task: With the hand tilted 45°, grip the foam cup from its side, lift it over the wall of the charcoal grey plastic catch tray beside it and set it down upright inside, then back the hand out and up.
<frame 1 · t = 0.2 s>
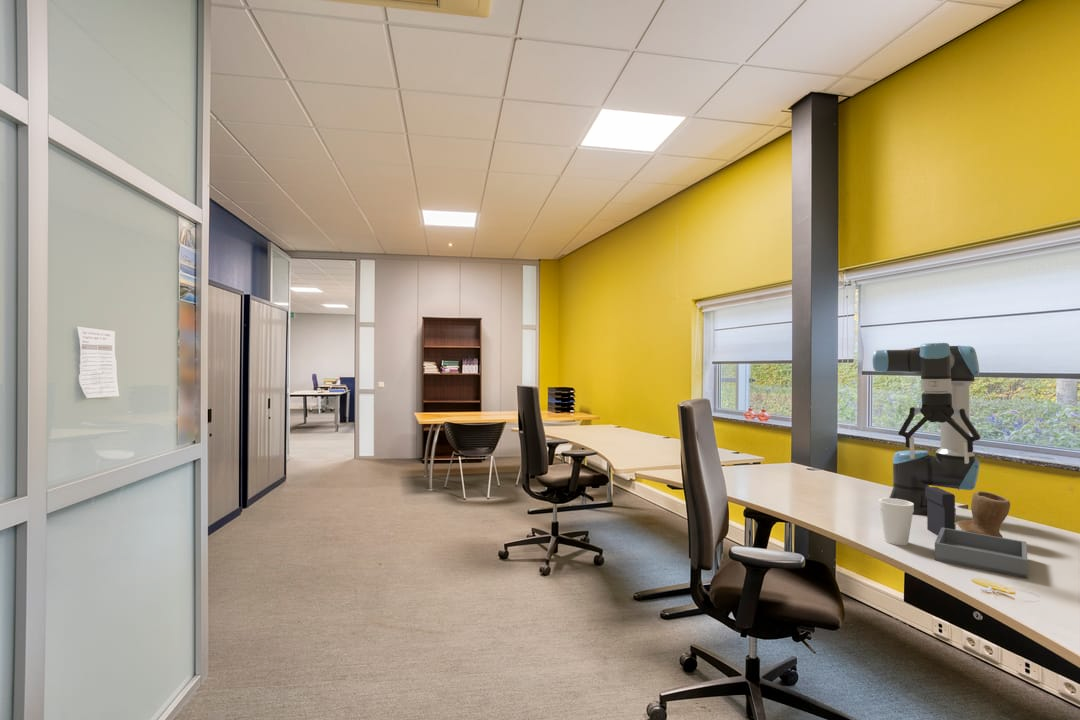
hand: (938, 460, 163), 28 cm above the table, tool pointing down, fingers open, 13 cm apart
brown flared vessel: (984, 537, 174), on the table
foam cup: (896, 542, 169), on the table
catch tray: (980, 559, 154), on the table
dark blue upright block: (940, 535, 176), on the table
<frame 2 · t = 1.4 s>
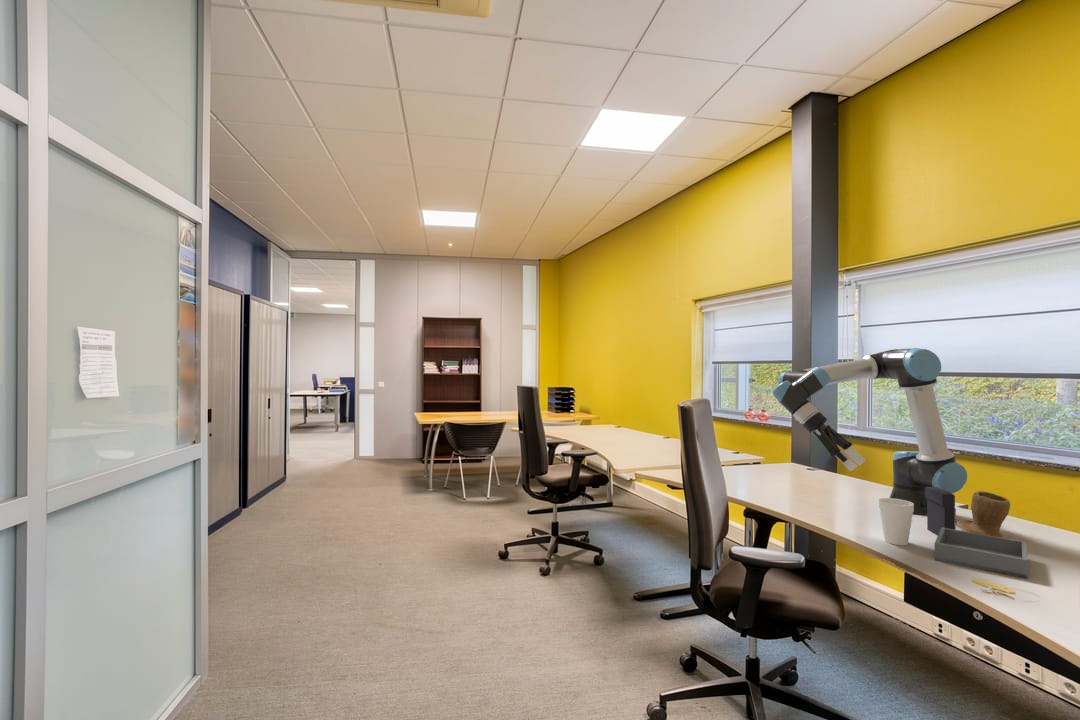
hand: (858, 466, 176), 23 cm above the table, tool tilted 45°, fingers open, 13 cm apart
nothing on the table moved.
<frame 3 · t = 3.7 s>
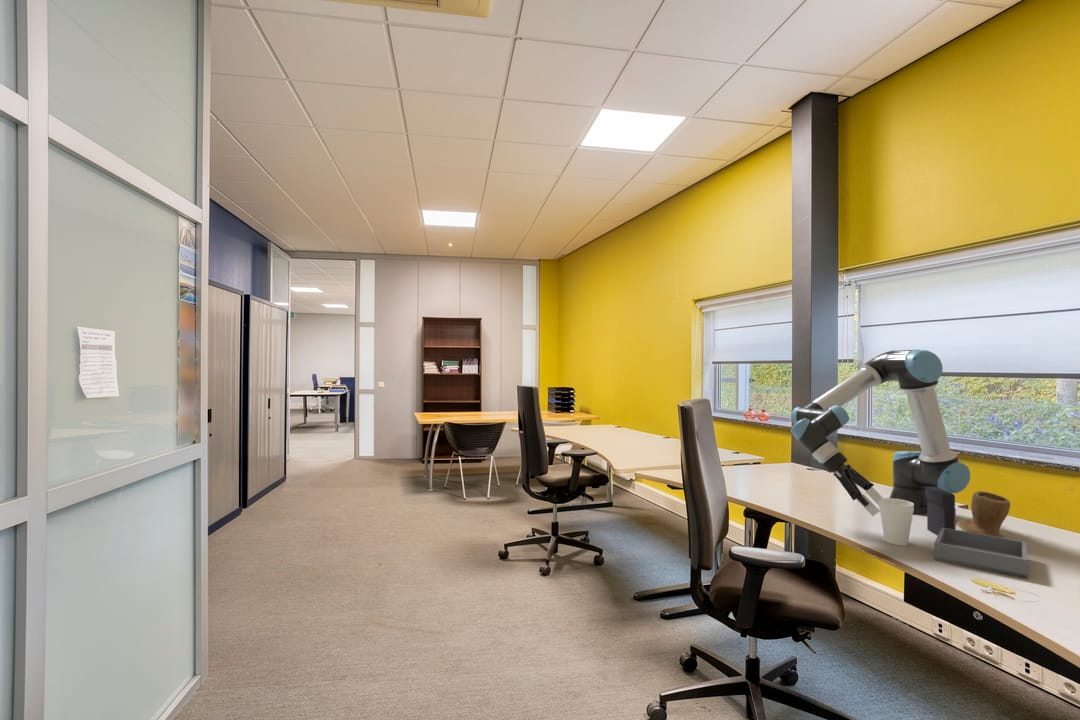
hand: (880, 509, 171), 10 cm above the table, tool tilted 45°, fingers open, 13 cm apart
nothing on the table moved.
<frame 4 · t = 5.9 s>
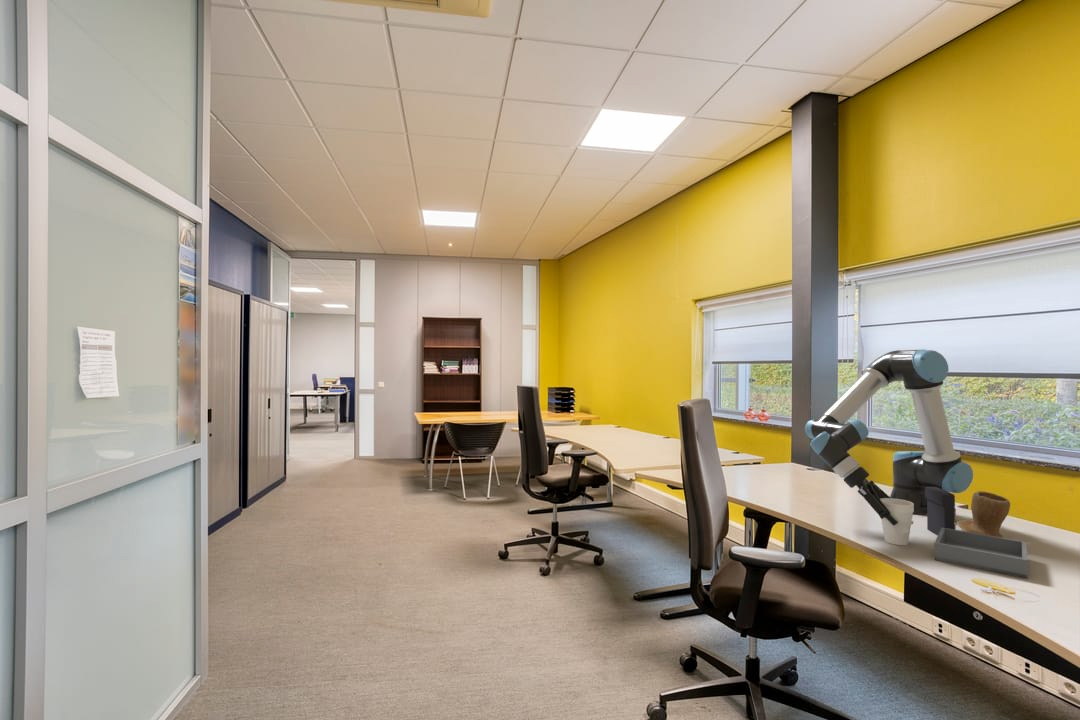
hand: (907, 528, 167), 5 cm above the table, tool tilted 45°, fingers closed on foam cup, 9 cm apart
foam cup: (896, 542, 169), on the table, touching gripper
everything else where it was.
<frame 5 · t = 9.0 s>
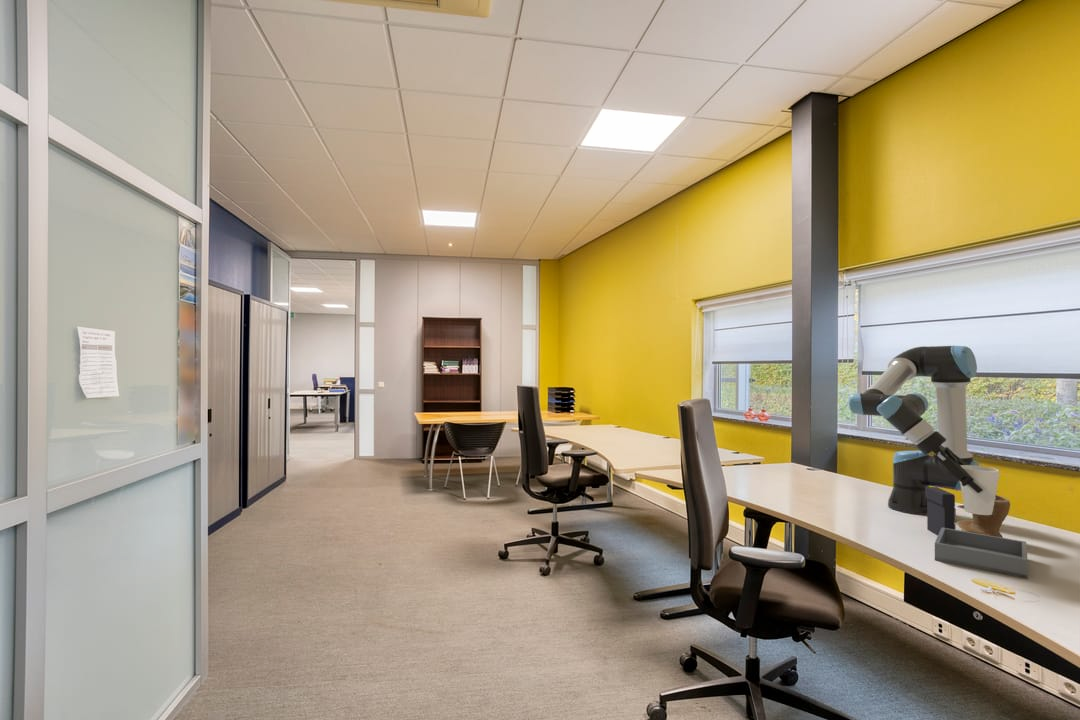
hand: (992, 497, 152), 19 cm above the table, tool tilted 45°, fingers closed on foam cup, 9 cm apart
foam cup: (978, 512, 155), point 14 cm above the table, touching gripper
everything else where it was.
when the fingers open (7 cm above the table, at t = 12.2 s): foam cup stays where it is, resting on catch tray.
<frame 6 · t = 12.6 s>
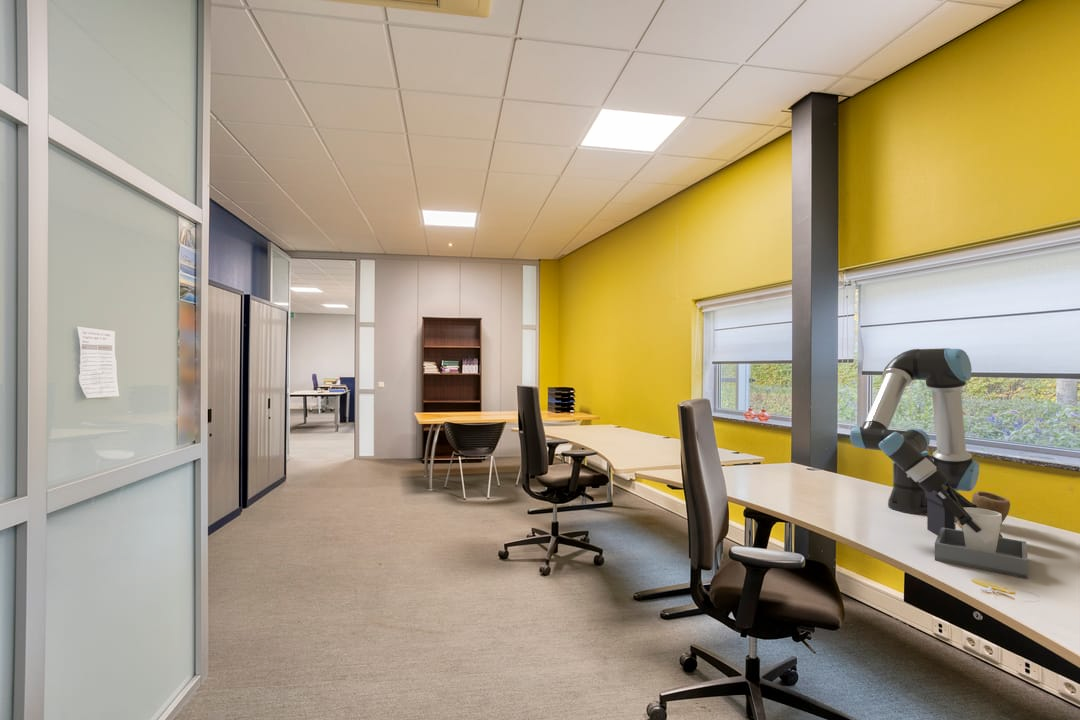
hand: (991, 535, 153), 8 cm above the table, tool tilted 45°, fingers open, 13 cm apart
foam cup: (980, 556, 154), point 1 cm above the table, touching catch tray
everything else where it was.
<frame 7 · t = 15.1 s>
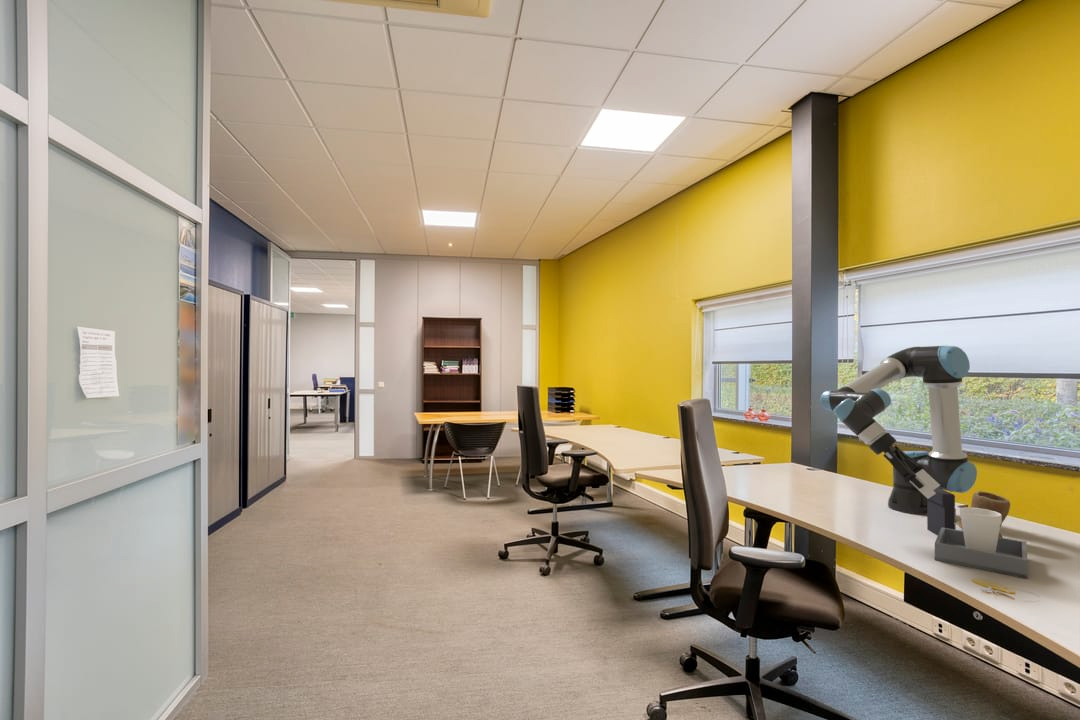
hand: (934, 492, 162), 18 cm above the table, tool tilted 45°, fingers open, 13 cm apart
nothing on the table moved.
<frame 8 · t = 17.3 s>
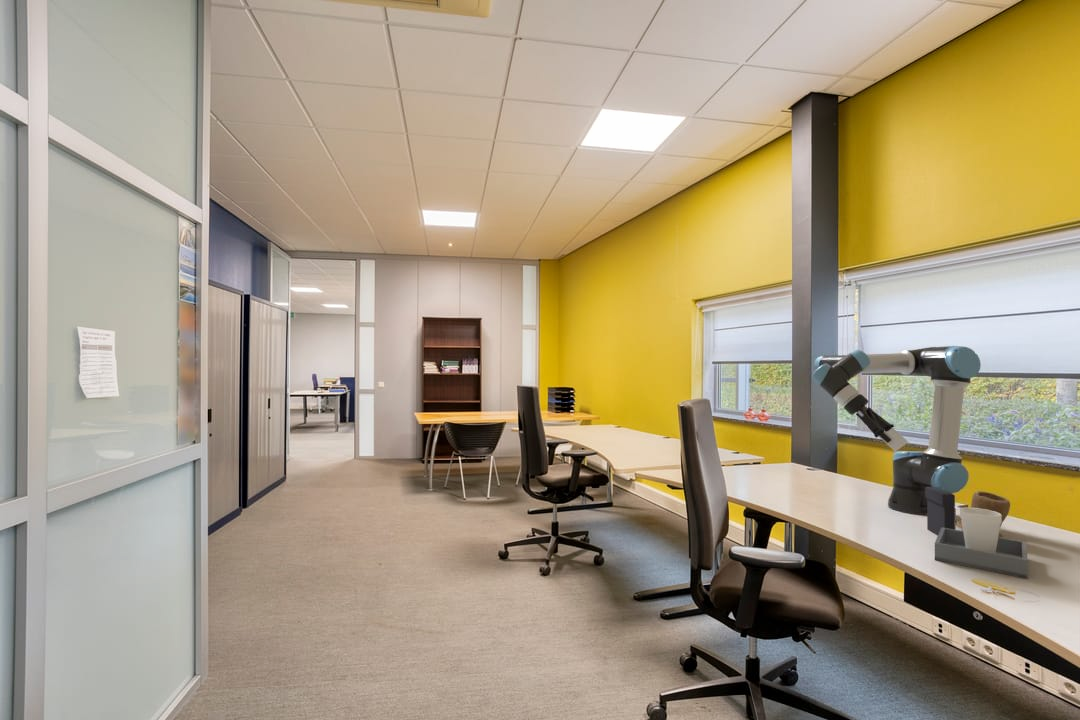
hand: (902, 446, 176), 30 cm above the table, tool tilted 45°, fingers open, 13 cm apart
nothing on the table moved.
at the end: foam cup inside the target area on the catch tray (0.1 cm from its centre), point 0.8 cm above the catch tray's base; foam cup tilted 0°; the gripper is holding nothing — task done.
